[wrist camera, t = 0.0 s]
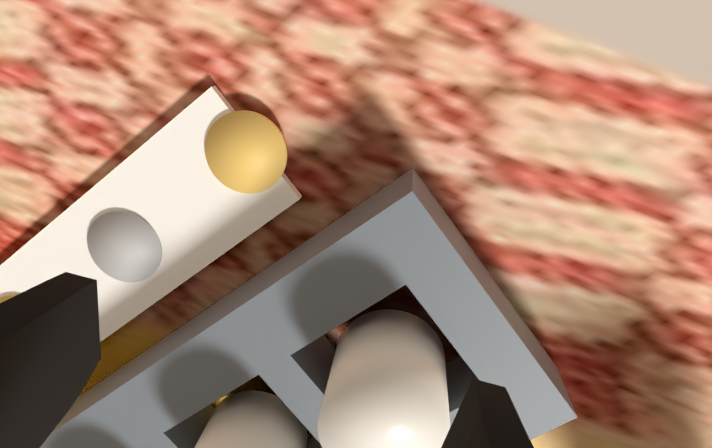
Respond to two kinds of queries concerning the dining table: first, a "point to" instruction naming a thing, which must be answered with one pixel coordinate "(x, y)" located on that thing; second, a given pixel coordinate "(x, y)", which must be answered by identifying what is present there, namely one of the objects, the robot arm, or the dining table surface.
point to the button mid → (253, 423)
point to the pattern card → (163, 211)
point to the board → (325, 331)
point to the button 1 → (386, 385)
